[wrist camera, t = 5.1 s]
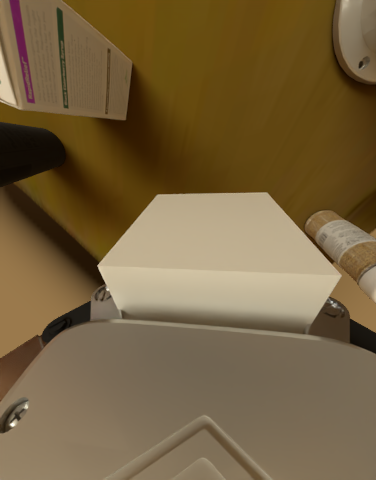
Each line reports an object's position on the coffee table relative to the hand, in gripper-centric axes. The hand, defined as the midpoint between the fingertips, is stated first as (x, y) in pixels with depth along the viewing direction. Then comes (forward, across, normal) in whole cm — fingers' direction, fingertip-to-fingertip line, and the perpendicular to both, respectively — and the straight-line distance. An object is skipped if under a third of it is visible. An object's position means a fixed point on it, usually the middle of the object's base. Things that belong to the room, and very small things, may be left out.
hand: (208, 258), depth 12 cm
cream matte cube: (+3, 0, 0) cm, 3 cm away
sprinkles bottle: (+16, -17, +5) cm, 24 cm away
